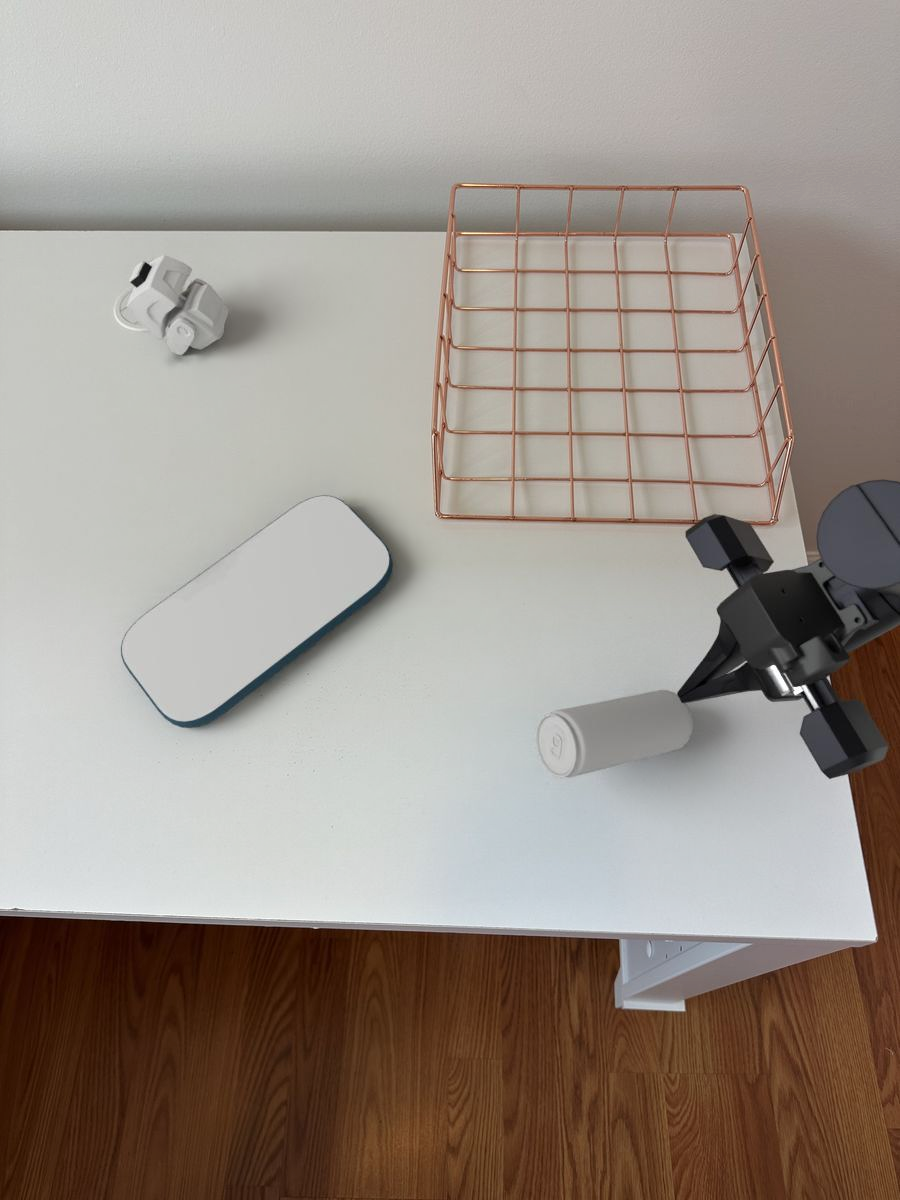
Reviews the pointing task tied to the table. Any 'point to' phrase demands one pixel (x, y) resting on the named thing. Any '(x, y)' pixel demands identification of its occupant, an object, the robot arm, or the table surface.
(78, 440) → the table surface
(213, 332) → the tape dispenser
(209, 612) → the external hard drive
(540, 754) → the beverage can
